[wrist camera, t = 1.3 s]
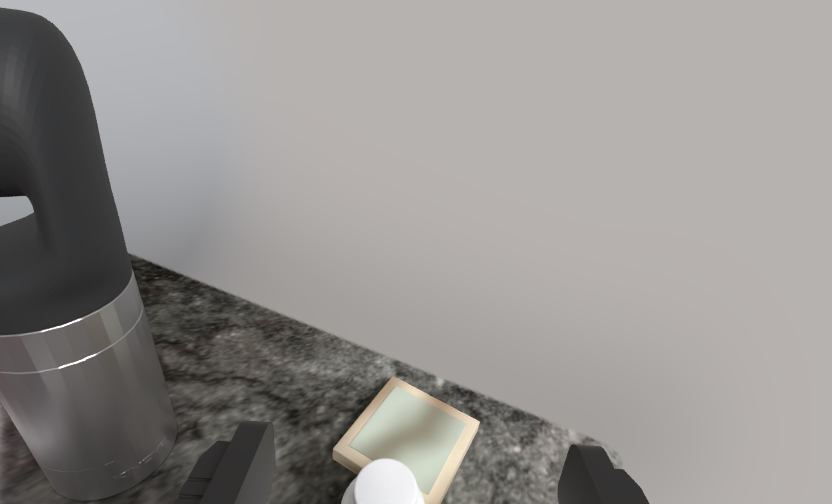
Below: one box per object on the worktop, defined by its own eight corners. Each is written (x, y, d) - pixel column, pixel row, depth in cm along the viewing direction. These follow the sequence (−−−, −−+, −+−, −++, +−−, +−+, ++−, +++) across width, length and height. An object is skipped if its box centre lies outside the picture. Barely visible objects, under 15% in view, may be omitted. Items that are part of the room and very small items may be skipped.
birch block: (332, 459, 38) (332, 448, 37) (391, 385, 45) (392, 375, 44) (430, 523, 34) (433, 512, 33) (476, 431, 42) (480, 421, 41)
